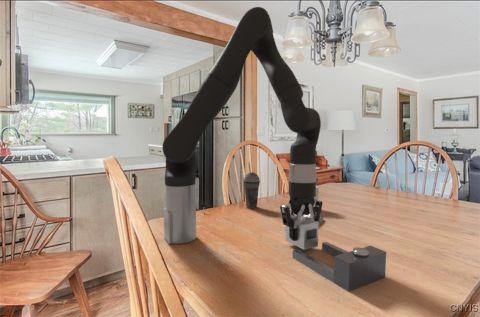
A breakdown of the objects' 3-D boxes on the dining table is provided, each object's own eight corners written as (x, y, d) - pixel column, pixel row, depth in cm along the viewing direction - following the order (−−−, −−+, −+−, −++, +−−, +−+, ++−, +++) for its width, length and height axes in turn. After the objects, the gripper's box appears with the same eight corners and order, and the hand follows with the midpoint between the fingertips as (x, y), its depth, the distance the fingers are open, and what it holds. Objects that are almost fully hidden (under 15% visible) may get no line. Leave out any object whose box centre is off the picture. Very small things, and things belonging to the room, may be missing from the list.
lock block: (305, 250, 74) (305, 225, 73) (285, 240, 81) (285, 216, 81) (318, 246, 76) (319, 222, 76) (298, 236, 84) (299, 214, 83)
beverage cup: (260, 209, 119) (260, 163, 117) (243, 209, 119) (243, 163, 117) (259, 205, 126) (259, 161, 124) (243, 205, 126) (243, 161, 124)
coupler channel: (348, 291, 57) (349, 259, 56) (292, 257, 73) (293, 232, 72) (385, 277, 63) (386, 248, 62) (325, 248, 79) (326, 225, 78)
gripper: (312, 175, 84) (310, 230, 86) (273, 179, 77) (273, 238, 79) (331, 179, 77) (329, 238, 79) (290, 183, 71) (289, 248, 72)
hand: (301, 237), depth 79 cm, fingers closed on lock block, 5 cm apart
